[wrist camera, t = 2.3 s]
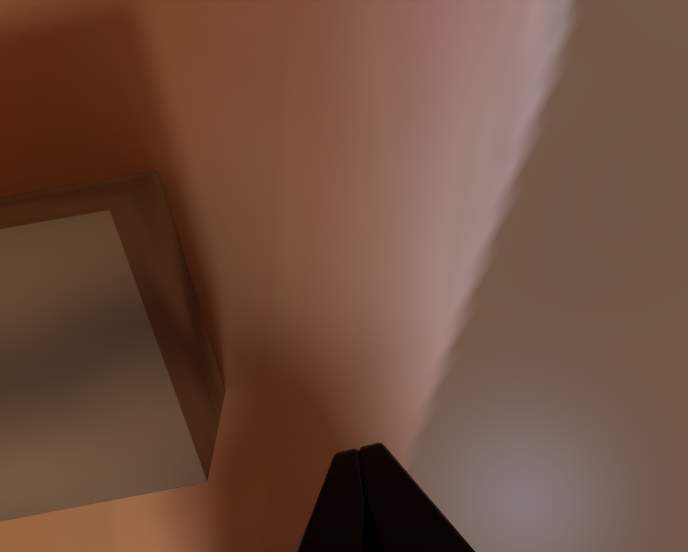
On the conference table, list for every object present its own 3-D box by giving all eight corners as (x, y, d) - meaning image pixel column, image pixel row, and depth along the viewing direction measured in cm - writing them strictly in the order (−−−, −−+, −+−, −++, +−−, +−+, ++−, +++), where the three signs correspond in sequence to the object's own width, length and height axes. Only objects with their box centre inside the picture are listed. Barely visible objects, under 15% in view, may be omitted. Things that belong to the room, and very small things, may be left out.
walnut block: (226, 386, 20) (207, 481, 16) (5, 428, 20) (-80, 536, 15) (159, 169, 17) (109, 210, 12) (-113, 215, 16) (-269, 276, 12)
